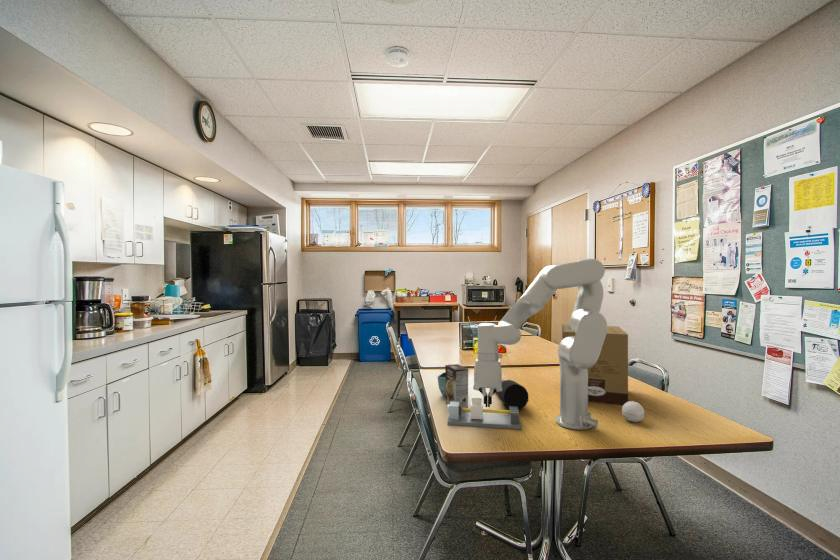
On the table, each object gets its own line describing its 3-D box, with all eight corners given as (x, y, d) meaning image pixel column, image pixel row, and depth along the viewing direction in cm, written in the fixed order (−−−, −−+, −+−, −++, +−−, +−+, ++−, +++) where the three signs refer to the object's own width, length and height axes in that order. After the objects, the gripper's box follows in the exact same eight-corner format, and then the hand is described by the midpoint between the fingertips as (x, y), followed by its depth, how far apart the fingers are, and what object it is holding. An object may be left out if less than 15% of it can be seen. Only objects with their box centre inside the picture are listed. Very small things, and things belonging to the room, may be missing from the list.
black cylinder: (499, 395, 180) (508, 377, 181) (522, 414, 146) (532, 391, 148) (481, 386, 180) (490, 368, 181) (499, 402, 146) (510, 379, 148)
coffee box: (444, 402, 158) (444, 365, 158) (458, 400, 161) (457, 363, 160) (455, 409, 150) (454, 369, 149) (468, 407, 152) (468, 368, 152)
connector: (462, 414, 141) (461, 402, 141) (461, 419, 136) (461, 406, 136) (448, 413, 142) (448, 401, 142) (446, 418, 137) (446, 405, 137)
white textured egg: (617, 419, 138) (617, 400, 138) (630, 416, 141) (630, 397, 141) (642, 429, 129) (642, 408, 129) (656, 426, 132) (656, 405, 132)
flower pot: (443, 390, 174) (443, 371, 174) (461, 393, 171) (461, 373, 171) (437, 396, 166) (437, 376, 166) (456, 398, 163) (455, 378, 163)
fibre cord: (518, 413, 135) (518, 410, 135) (518, 414, 134) (518, 411, 134) (457, 410, 139) (457, 406, 139) (457, 411, 138) (457, 408, 138)
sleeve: (482, 414, 140) (482, 395, 139) (482, 419, 135) (482, 399, 135) (471, 413, 140) (471, 395, 140) (470, 418, 136) (470, 399, 135)
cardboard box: (618, 389, 176) (619, 326, 176) (628, 406, 152) (628, 333, 152) (561, 383, 185) (562, 323, 185) (562, 399, 161) (562, 330, 161)
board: (518, 418, 140) (518, 405, 140) (521, 429, 130) (521, 415, 130) (450, 414, 144) (450, 401, 144) (447, 424, 134) (447, 410, 134)
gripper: (507, 355, 139) (507, 403, 139) (467, 353, 142) (467, 401, 142) (509, 359, 132) (508, 411, 132) (467, 358, 134) (466, 408, 134)
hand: (487, 405), depth 137 cm, fingers closed
